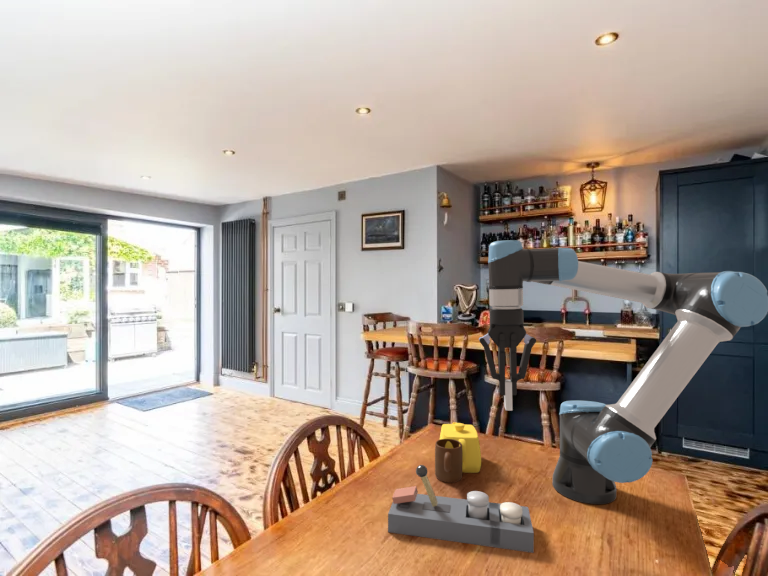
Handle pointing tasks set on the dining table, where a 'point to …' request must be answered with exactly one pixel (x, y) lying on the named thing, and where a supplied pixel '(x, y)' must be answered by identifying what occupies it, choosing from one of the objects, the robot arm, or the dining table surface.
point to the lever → (426, 483)
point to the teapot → (464, 444)
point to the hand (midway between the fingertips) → (508, 408)
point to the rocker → (405, 495)
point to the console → (460, 523)
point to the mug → (448, 460)
